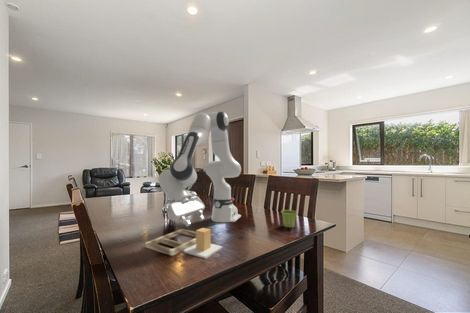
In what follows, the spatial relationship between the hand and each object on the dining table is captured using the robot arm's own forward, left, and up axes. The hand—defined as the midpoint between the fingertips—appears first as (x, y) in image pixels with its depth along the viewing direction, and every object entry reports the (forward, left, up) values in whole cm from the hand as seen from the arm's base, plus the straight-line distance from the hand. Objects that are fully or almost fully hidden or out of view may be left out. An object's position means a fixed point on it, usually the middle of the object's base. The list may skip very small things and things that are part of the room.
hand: (196, 222), depth 96 cm
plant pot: (-53, +28, -11) cm, 61 cm away
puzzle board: (0, -11, -11) cm, 16 cm away
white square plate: (0, +5, -11) cm, 12 cm away
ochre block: (0, +5, -10) cm, 11 cm away
